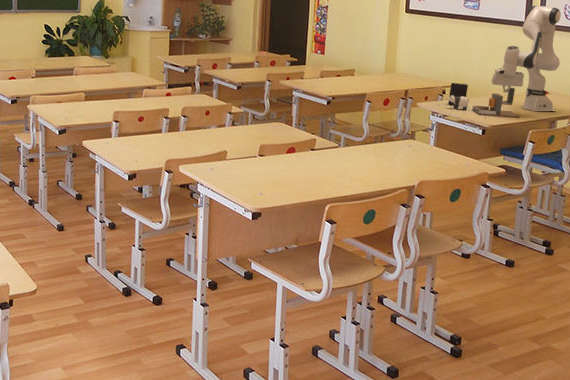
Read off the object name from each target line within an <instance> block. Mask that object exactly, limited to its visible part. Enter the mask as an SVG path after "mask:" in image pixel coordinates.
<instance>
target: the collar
mask: <svg viewBox="0 0 570 380" xmlns="http://www.w3.org/2000/svg"><path fill="white" fill-rule="evenodd" d="M494 106H495V99H493V98H492V97H489V100H488V106H487V107H489V108H490V107H493V108H494Z"/></svg>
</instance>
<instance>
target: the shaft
mask: <svg viewBox="0 0 570 380" xmlns="http://www.w3.org/2000/svg"><path fill="white" fill-rule="evenodd" d="M515 91H516V88H514V87H511V88H510V89H509V91H508V93H507V99H506V100H502V105H507V106H513V102H514V96H515Z"/></svg>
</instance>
